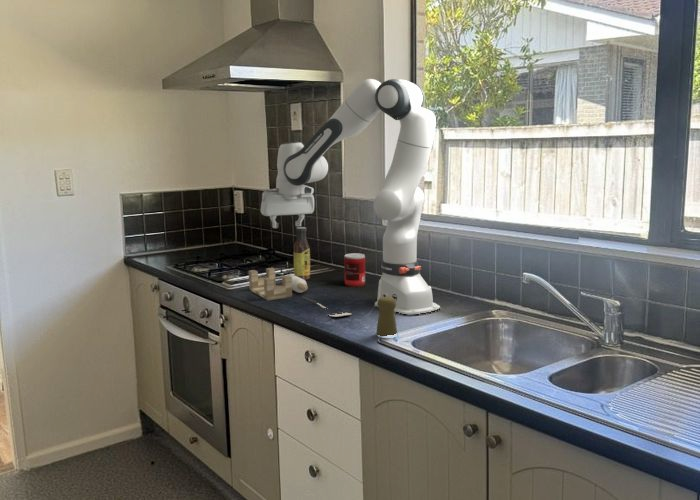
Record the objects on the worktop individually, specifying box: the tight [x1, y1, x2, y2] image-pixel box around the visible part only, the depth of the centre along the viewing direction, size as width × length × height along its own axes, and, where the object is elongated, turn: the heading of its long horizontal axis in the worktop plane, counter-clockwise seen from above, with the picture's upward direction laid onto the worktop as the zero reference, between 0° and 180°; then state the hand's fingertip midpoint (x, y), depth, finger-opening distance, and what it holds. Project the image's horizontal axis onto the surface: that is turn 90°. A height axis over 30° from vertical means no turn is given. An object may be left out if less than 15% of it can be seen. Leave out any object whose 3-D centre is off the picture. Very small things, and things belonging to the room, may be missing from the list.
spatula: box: [302, 296, 352, 318], centre depth 218 cm, size 6×29×2 cm, turn 29°
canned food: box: [343, 252, 366, 288], centre depth 247 cm, size 8×8×11 cm
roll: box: [285, 273, 309, 294], centre depth 241 cm, size 16×5×5 cm, turn 29°
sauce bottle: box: [293, 226, 311, 281], centre depth 256 cm, size 7×6×20 cm
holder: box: [248, 267, 293, 301], centre depth 236 cm, size 18×9×7 cm, turn 29°
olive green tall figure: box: [376, 297, 398, 336], centre depth 188 cm, size 6×6×11 cm
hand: (286, 227), depth 237 cm, fingers open, 8 cm apart
